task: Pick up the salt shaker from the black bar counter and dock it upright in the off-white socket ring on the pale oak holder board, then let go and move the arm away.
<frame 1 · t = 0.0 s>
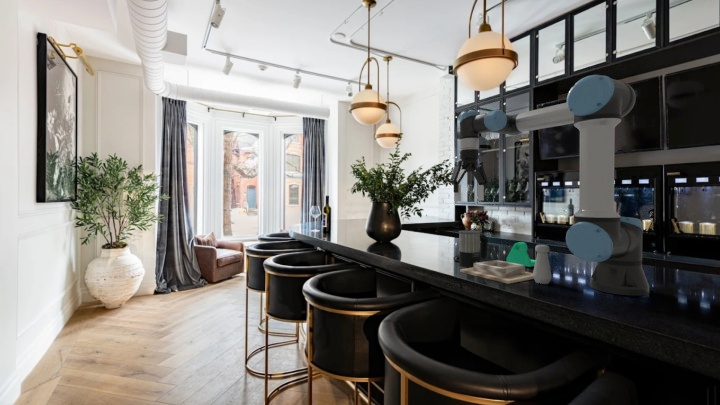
hand: (469, 200, 147), 28 cm above the counter, fingers open, 13 cm apart
salt shaker: (541, 283, 122), on the counter
milk frother: (465, 264, 156), on the counter
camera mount: (524, 266, 152), on the counter
socket holder: (498, 274, 134), on the counter
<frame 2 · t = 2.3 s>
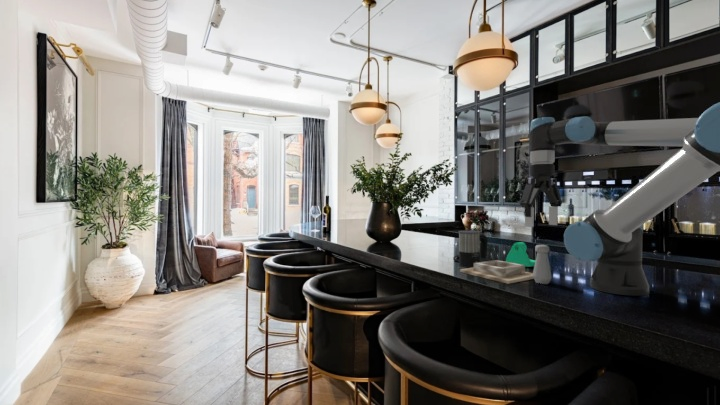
hand: (541, 225, 122), 20 cm above the counter, fingers open, 13 cm apart
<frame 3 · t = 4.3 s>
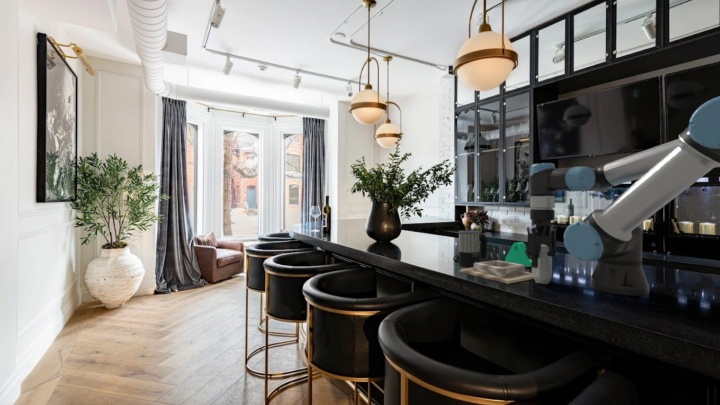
hand: (541, 275, 122), 2 cm above the counter, fingers closed on salt shaker, 6 cm apart
salt shaker: (541, 283, 122), on the counter, touching gripper
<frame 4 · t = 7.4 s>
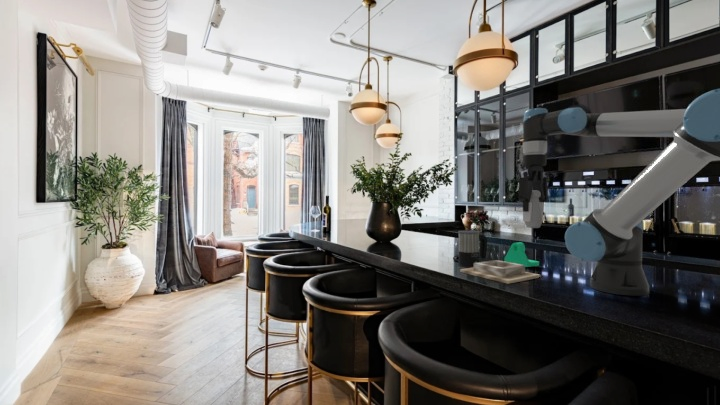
hand: (532, 220, 124), 21 cm above the counter, fingers closed on salt shaker, 6 cm apart
salt shaker: (532, 227, 124), point 19 cm above the counter, touching gripper
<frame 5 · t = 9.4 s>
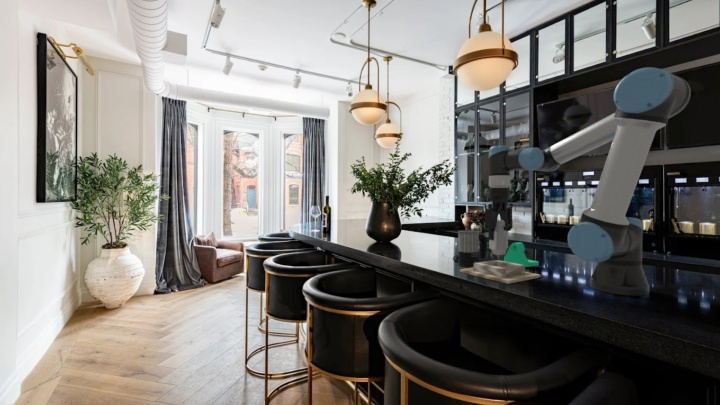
hand: (498, 247, 134), 10 cm above the counter, fingers closed on salt shaker, 6 cm apart
salt shaker: (498, 254, 134), point 8 cm above the counter, touching gripper
when the fingers open (5 cm above the counter, at t = 10.8 s): salt shaker drops 2 cm, resting on socket holder.
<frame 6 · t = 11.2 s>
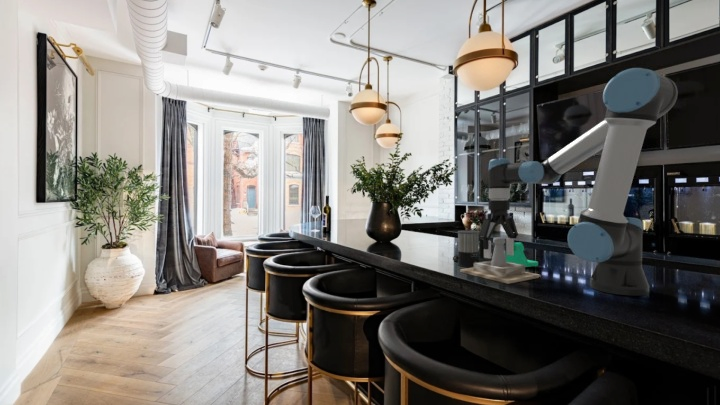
hand: (498, 256, 134), 7 cm above the counter, fingers open, 12 cm apart
salt shaker: (498, 272, 134), point 1 cm above the counter, touching socket holder
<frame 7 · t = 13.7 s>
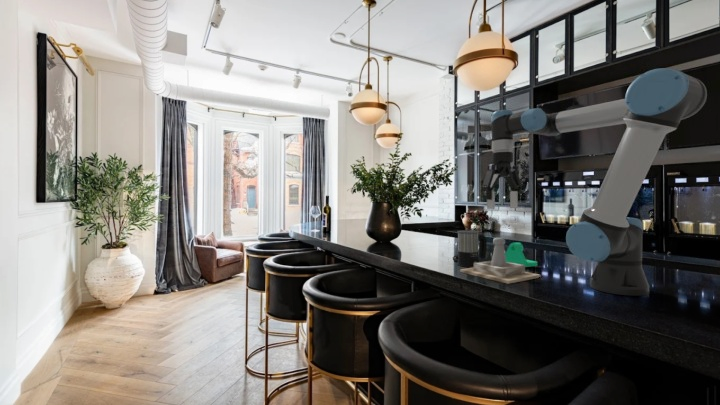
hand: (502, 208, 134), 25 cm above the counter, fingers open, 13 cm apart
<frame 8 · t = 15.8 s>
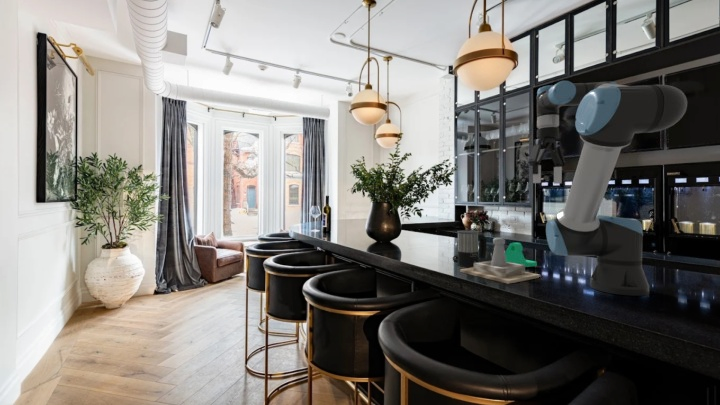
hand: (547, 183, 136), 35 cm above the counter, fingers open, 13 cm apart
at the end: salt shaker 0.0 cm off-centre on the socket holder, point 0.8 cm above the socket holder's base; salt shaker tilted 0°; the gripper is holding nothing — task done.
